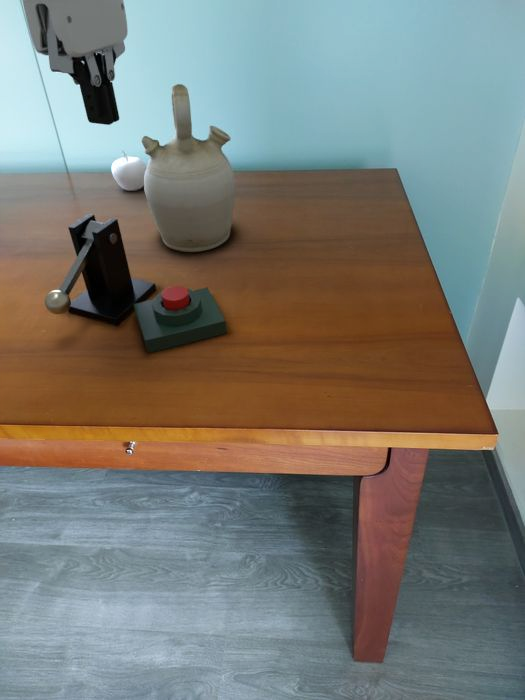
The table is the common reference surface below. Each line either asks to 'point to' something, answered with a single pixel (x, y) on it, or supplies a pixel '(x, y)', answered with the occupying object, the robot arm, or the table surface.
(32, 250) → the table surface
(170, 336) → the button box
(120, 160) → the plain white apple
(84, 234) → the lever
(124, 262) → the bracket
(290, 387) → the table surface
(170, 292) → the button
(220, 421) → the table surface
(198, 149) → the jug
